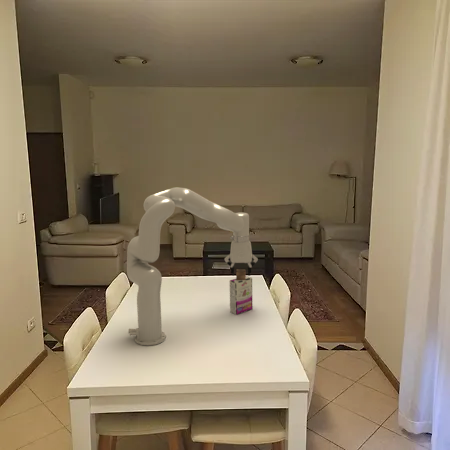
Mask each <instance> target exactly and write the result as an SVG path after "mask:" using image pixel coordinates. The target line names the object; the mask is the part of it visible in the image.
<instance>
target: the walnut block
mask: <svg viewBox="0 0 450 450" xmlns="http://www.w3.org/2000/svg"><path fill="white" fill-rule="evenodd" d="M235 273H236V275H235V276H236V277H235V279H236V280H246V276H247V275H246V269H241V268H239V269H238V268H237V269H236V271H235Z"/></svg>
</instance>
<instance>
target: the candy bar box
mask: <svg viewBox="0 0 450 450" xmlns="http://www.w3.org/2000/svg"><path fill="white" fill-rule="evenodd" d="M250 310H253V277H252V276H249V275H246V280H236V278H234V279H230V280H229V311H230V313H231V314H234V315H235V316H238V315H240V314H243V313H246V312H248V311H250Z"/></svg>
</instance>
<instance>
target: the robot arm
mask: <svg viewBox="0 0 450 450" xmlns="http://www.w3.org/2000/svg"><path fill="white" fill-rule="evenodd" d="M176 208H181V209H183V210H185V211H187V212H189V213H190V214H192V215H195V217H198V218H200V219H202V220H205V221H209V222H212V223H215V224H216V225H217V227H218V228H219V229H220V230H224V231H229V232H232V235H231V236H229V239H230V240H232V241H231V244H230V253H229V254H227V256H226V257H224V261H225V263H227V265H228V266H230V274H232V276H233V277H234V276H235V264H247V276H249V277H251V274H252V268H253V266H254V265H255V264H256V263H257V262H259V261H258V260H259V259H258V257H257V256H255V255H254V254H253V251H252V243H251V241H250V215H249V213H247V212H244V211H243V212H240V211H239V212H233V210H230V209H228V208H226V207H224V206H222V205H219V204H217V203H216V202H213V201H211V200H209V199H207V198H206V197H203V196H202V195H201V194H199V193H197V192H195V191H193V190H191V189H189V188H186V187H176V186H175V187H171V188H168V189H165V190H162V191H159V192H156V193H154V194H151V195H148V196H147V197H146V198H145V200H144V202H143V210H144V211H145V213H144V214H143V215H142V217H141V219H140V222H139V228H138V235H137V236H134V237H133V238H131V240H130V241H129V243H128V245H127V249H126V251H127V253H126V275H127V278H128V280H129V281H130V282H132V283H133V284H135V285H137V287H138V289H137V290H138V291H137V294H136V307H137V309H136V310H137V327H136V328H128V334H129V336H135V337H134V341H135V343H136V344H138V345H141V346H155V345H159V344H161V343H163V342H164V341H165V340H166V337H167V336H166V333H165V332H164V331H163V329H162V304H161V303H162V302H161V290H162V283H163V282H162V281H163V278H162V273H161V271H160V270H159V269H157V267H155V266H153V265H151V263H155V262H156V261H158V259H159V258H160V257H159V256H160V251H161V250H160V249H161V248H160V246H161V229H162V226H163V224H164V223H165V221H167V219H169V218H170V217H171V216H172V215H173V214H174V212H175V210H176ZM229 259H230V260H229Z"/></svg>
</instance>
